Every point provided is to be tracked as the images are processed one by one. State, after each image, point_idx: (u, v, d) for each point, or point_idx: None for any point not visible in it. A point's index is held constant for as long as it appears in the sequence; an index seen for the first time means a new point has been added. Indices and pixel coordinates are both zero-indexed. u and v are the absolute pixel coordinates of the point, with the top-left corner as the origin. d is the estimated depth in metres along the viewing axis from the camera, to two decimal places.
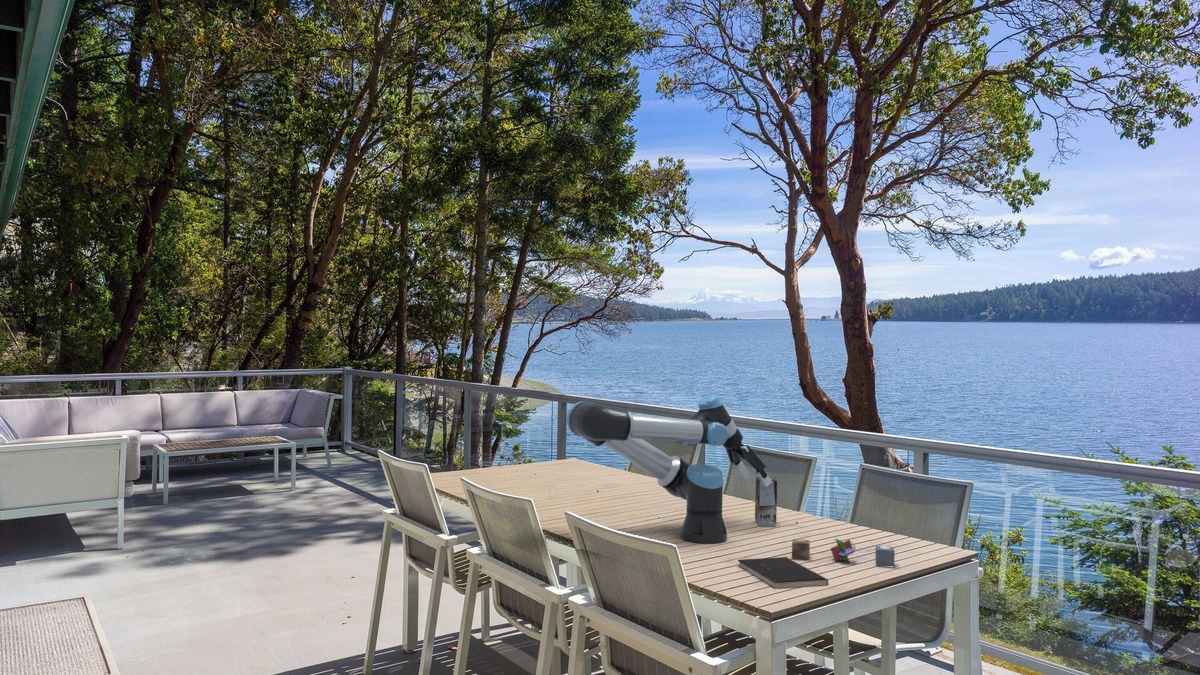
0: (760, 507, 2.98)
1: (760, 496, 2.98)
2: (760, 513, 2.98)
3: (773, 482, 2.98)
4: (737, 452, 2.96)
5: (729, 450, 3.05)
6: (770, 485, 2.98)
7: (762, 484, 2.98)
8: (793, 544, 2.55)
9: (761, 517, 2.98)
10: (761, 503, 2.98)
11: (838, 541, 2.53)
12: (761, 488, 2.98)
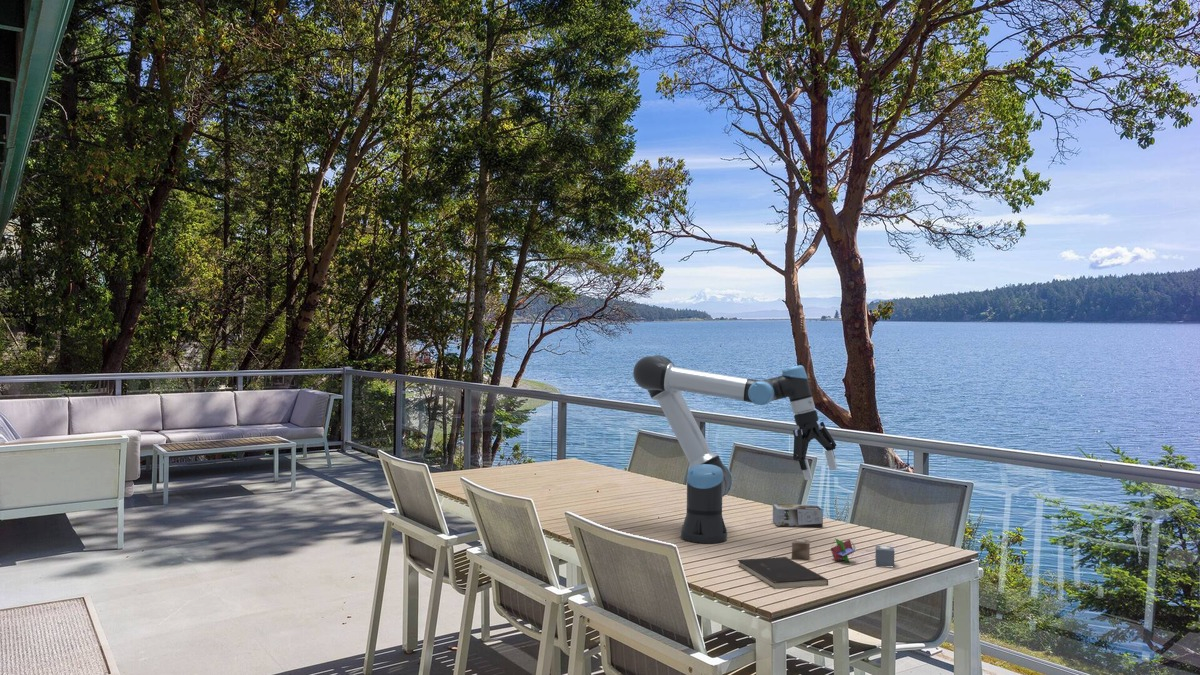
0: (795, 510, 2.98)
1: (806, 510, 2.98)
2: (789, 510, 2.98)
3: (821, 523, 2.98)
4: None
5: (820, 431, 2.85)
6: (818, 520, 2.98)
7: (819, 512, 2.98)
8: (793, 544, 2.55)
9: (785, 511, 2.98)
10: (799, 511, 2.98)
11: (838, 541, 2.53)
12: (814, 511, 2.98)
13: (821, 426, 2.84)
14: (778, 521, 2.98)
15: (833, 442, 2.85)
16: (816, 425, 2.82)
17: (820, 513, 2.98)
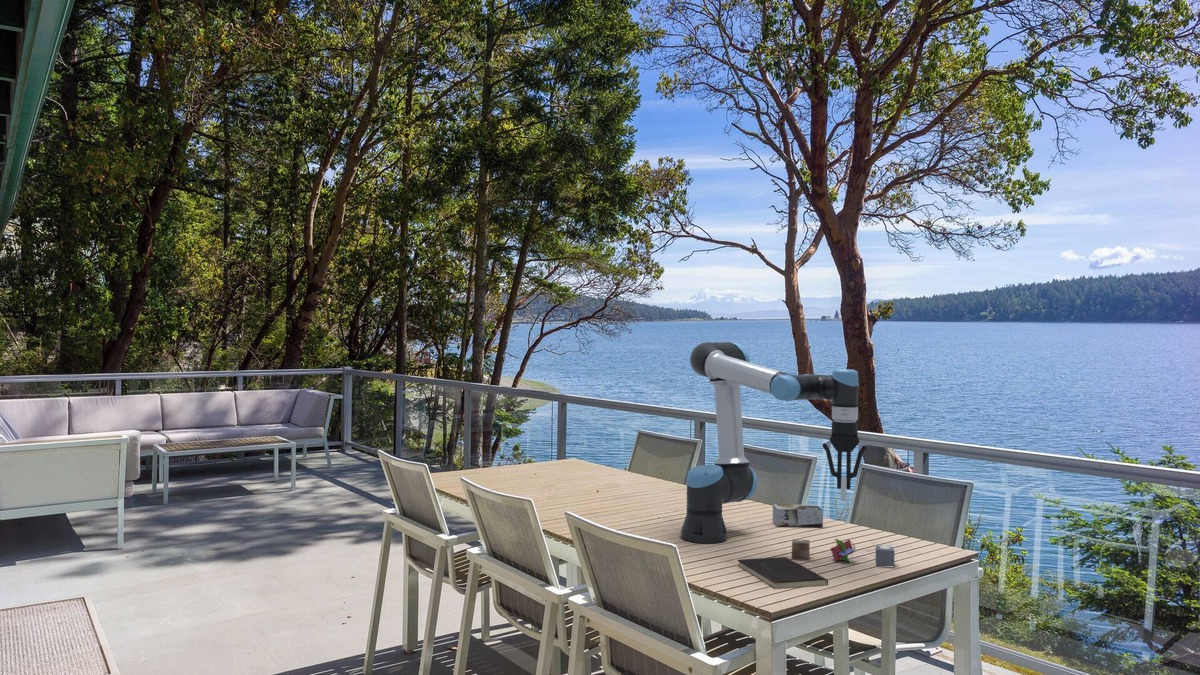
0: (795, 510, 2.98)
1: (806, 510, 2.98)
2: (789, 510, 2.98)
3: (821, 523, 2.98)
4: None
5: (858, 452, 2.53)
6: (818, 520, 2.98)
7: (819, 512, 2.98)
8: (793, 544, 2.55)
9: (785, 511, 2.98)
10: (799, 511, 2.98)
11: (838, 541, 2.53)
12: (814, 511, 2.98)
13: (860, 447, 2.51)
14: (778, 521, 2.98)
15: (855, 471, 2.51)
16: (855, 439, 2.51)
17: (820, 513, 2.98)
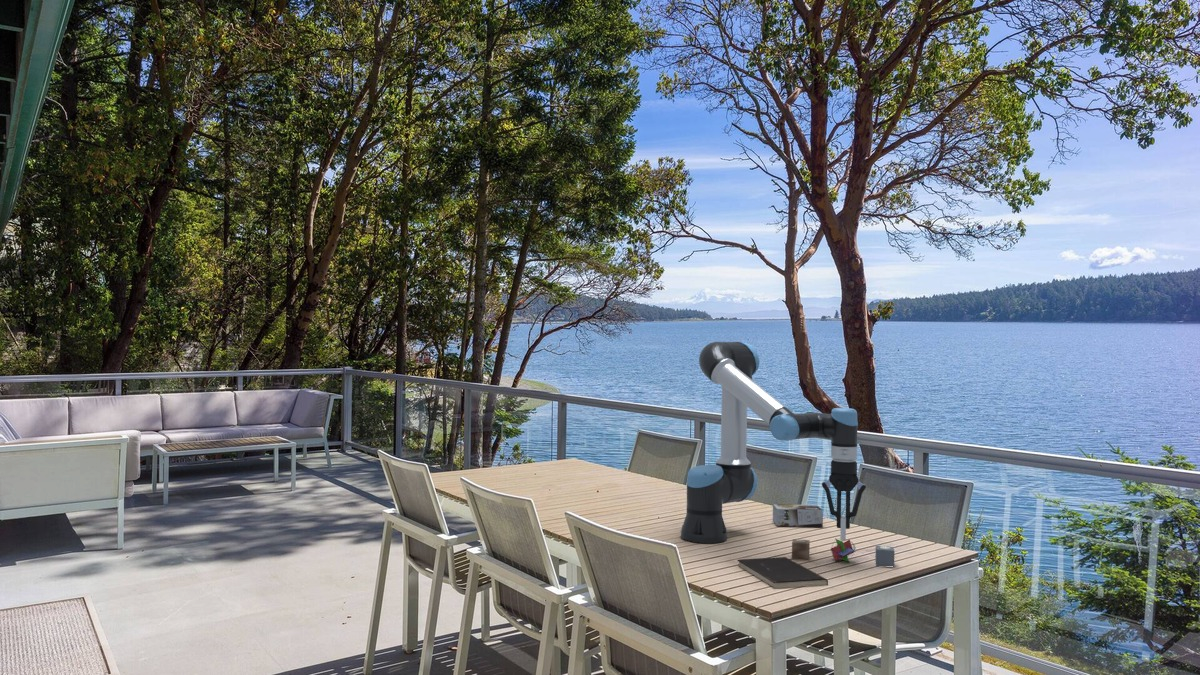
0: (795, 510, 2.98)
1: (806, 510, 2.98)
2: (789, 510, 2.98)
3: (821, 523, 2.98)
4: None
5: (857, 492, 2.53)
6: (818, 520, 2.98)
7: (819, 512, 2.98)
8: (793, 544, 2.55)
9: (785, 511, 2.98)
10: (799, 511, 2.98)
11: (838, 541, 2.53)
12: (814, 511, 2.98)
13: (859, 487, 2.51)
14: (778, 521, 2.98)
15: (854, 511, 2.51)
16: (854, 478, 2.51)
17: (820, 513, 2.98)
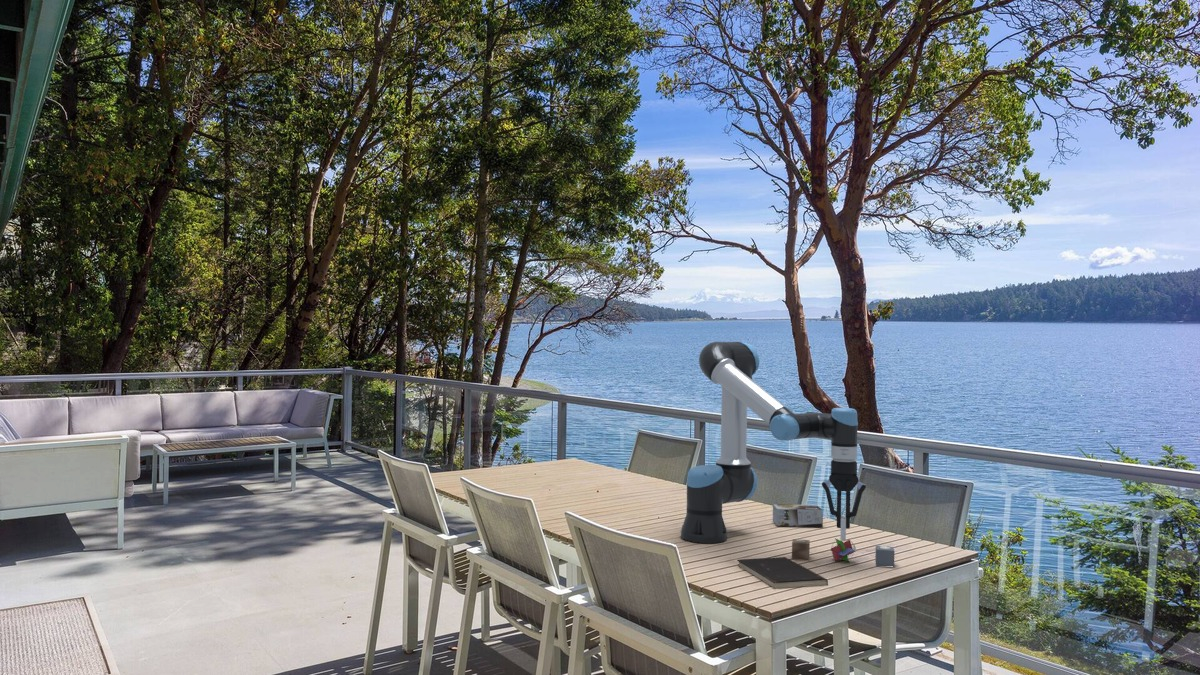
0: (795, 510, 2.98)
1: (806, 510, 2.98)
2: (789, 510, 2.98)
3: (821, 523, 2.98)
4: None
5: (857, 492, 2.53)
6: (818, 520, 2.98)
7: (819, 512, 2.98)
8: (793, 544, 2.55)
9: (785, 511, 2.98)
10: (799, 511, 2.98)
11: (838, 541, 2.53)
12: (814, 511, 2.98)
13: (860, 487, 2.51)
14: (778, 521, 2.98)
15: (854, 510, 2.51)
16: (854, 478, 2.51)
17: (820, 513, 2.98)
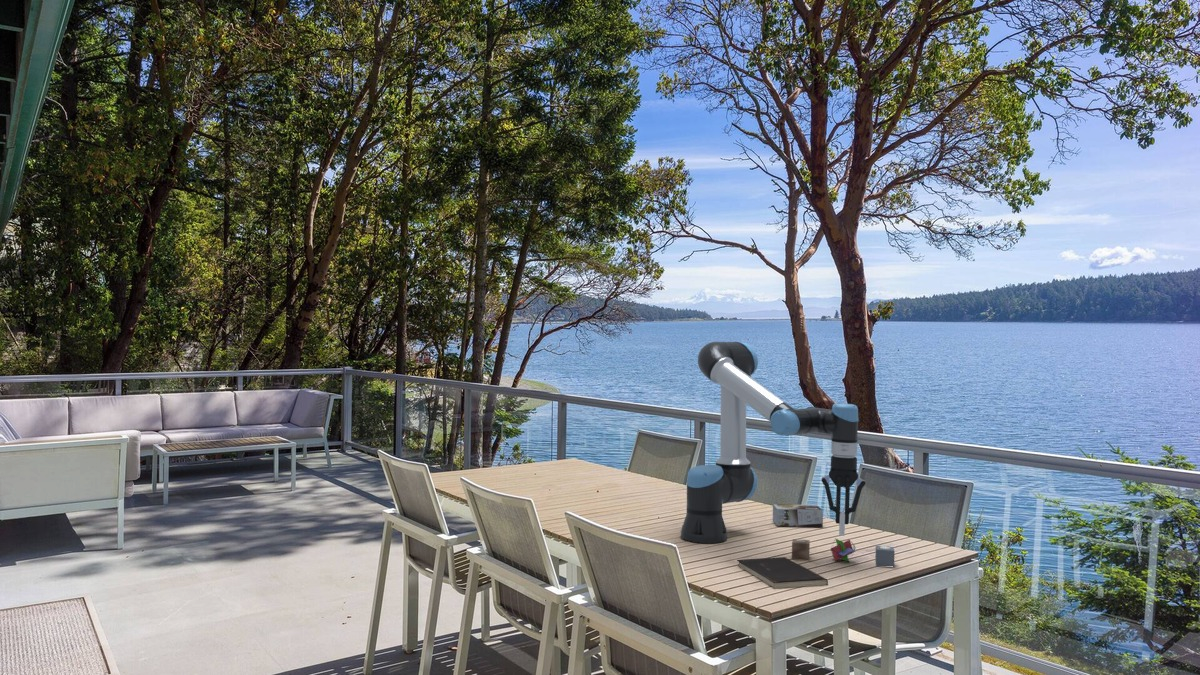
0: (795, 510, 2.98)
1: (806, 510, 2.98)
2: (789, 510, 2.98)
3: (821, 523, 2.98)
4: None
5: (857, 487, 2.53)
6: (818, 520, 2.98)
7: (819, 512, 2.98)
8: (793, 544, 2.55)
9: (785, 511, 2.98)
10: (799, 511, 2.98)
11: (838, 541, 2.53)
12: (814, 511, 2.98)
13: (859, 483, 2.51)
14: (778, 521, 2.98)
15: (854, 506, 2.51)
16: (854, 474, 2.51)
17: (820, 513, 2.98)
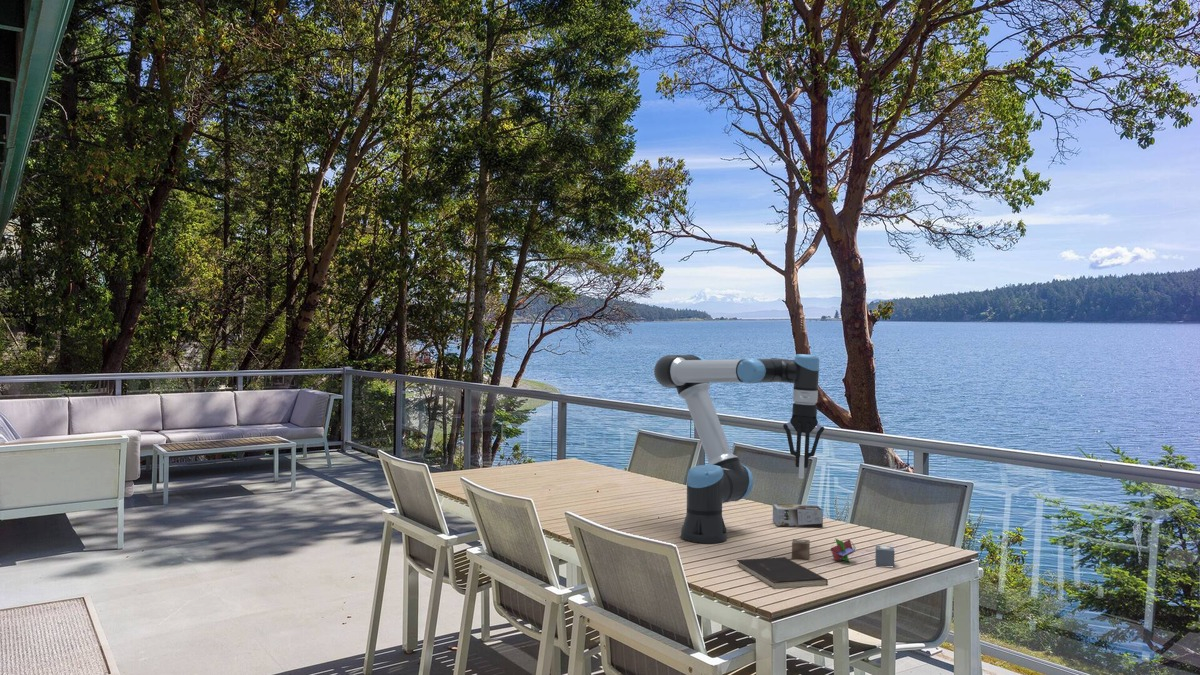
0: (795, 510, 2.98)
1: (806, 510, 2.98)
2: (789, 510, 2.98)
3: (821, 523, 2.98)
4: None
5: None
6: (818, 520, 2.98)
7: (819, 512, 2.98)
8: (793, 544, 2.55)
9: (785, 511, 2.98)
10: (799, 511, 2.98)
11: (838, 541, 2.53)
12: (814, 511, 2.98)
13: (818, 429, 2.66)
14: (778, 521, 2.98)
15: (813, 451, 2.66)
16: (814, 421, 2.66)
17: (820, 513, 2.98)
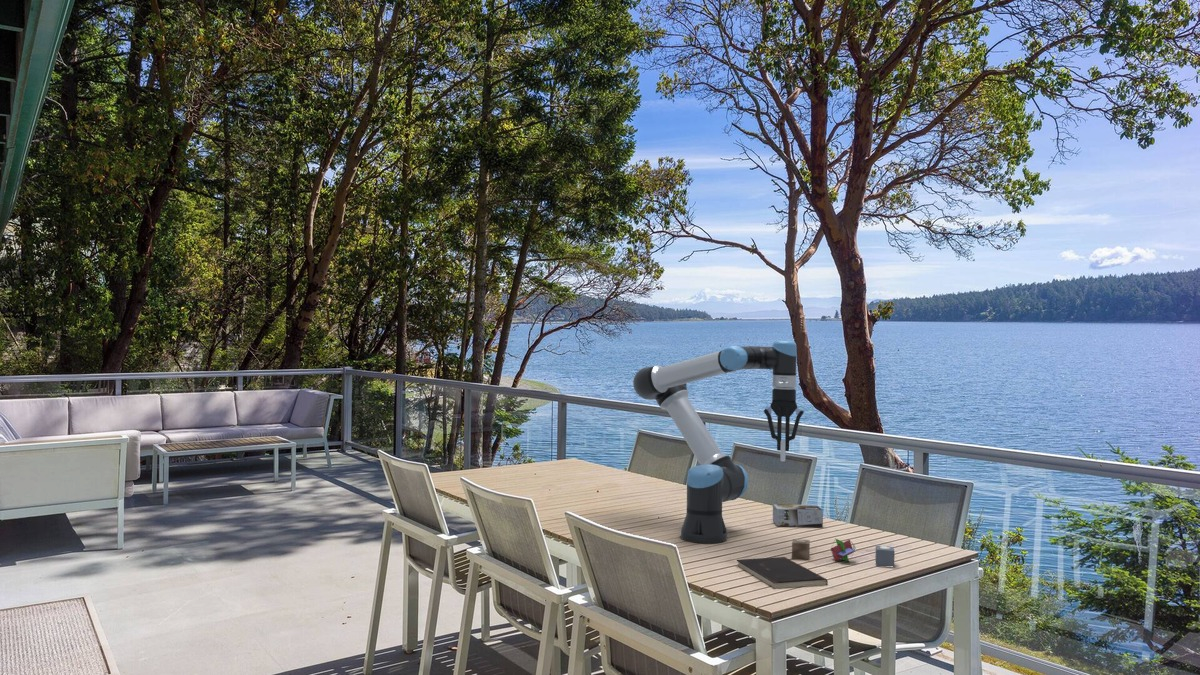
0: (795, 510, 2.98)
1: (806, 510, 2.98)
2: (789, 510, 2.98)
3: (821, 523, 2.98)
4: None
5: None
6: (818, 520, 2.98)
7: (819, 512, 2.98)
8: (793, 544, 2.55)
9: (785, 511, 2.98)
10: (799, 511, 2.98)
11: (838, 541, 2.53)
12: (814, 511, 2.98)
13: (798, 412, 2.74)
14: (778, 521, 2.98)
15: (793, 434, 2.74)
16: (793, 405, 2.74)
17: (820, 513, 2.98)
